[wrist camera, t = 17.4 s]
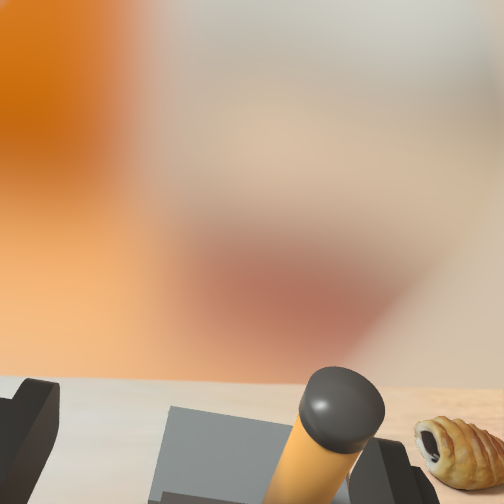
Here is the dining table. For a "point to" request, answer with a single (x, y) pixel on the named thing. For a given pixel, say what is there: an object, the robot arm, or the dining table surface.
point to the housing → (190, 499)
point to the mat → (221, 457)
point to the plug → (326, 437)
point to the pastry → (460, 453)
